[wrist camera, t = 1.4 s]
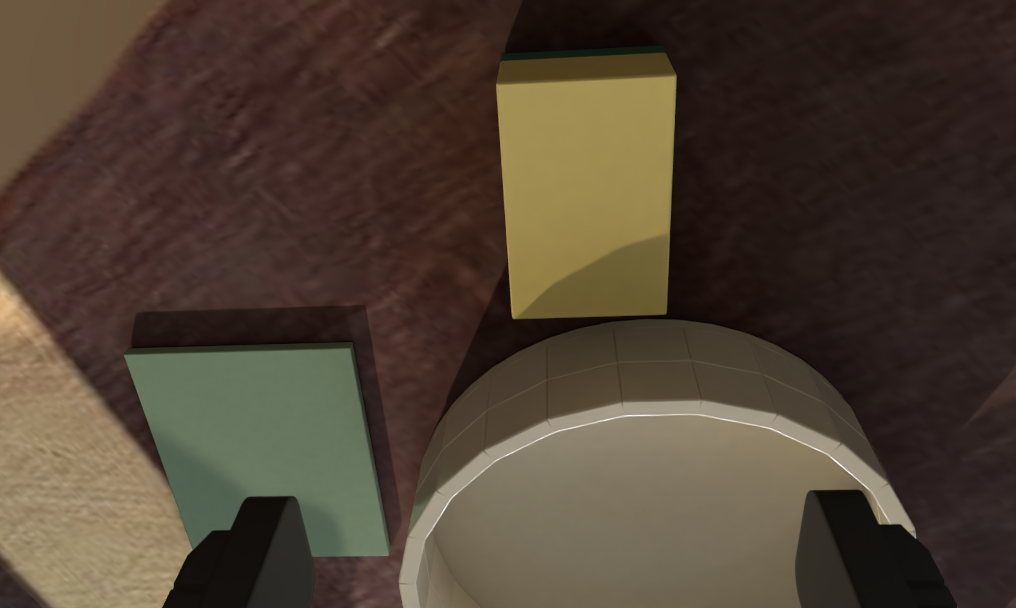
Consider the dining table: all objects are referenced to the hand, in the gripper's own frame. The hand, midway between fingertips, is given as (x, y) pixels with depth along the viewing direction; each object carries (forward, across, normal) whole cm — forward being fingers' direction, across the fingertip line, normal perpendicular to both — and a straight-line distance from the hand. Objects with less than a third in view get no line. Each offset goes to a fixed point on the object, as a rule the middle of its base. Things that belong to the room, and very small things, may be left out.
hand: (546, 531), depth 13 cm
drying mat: (+14, +11, +10) cm, 21 cm away
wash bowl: (+14, -3, +13) cm, 20 cm away
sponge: (+14, -1, -1) cm, 14 cm away
